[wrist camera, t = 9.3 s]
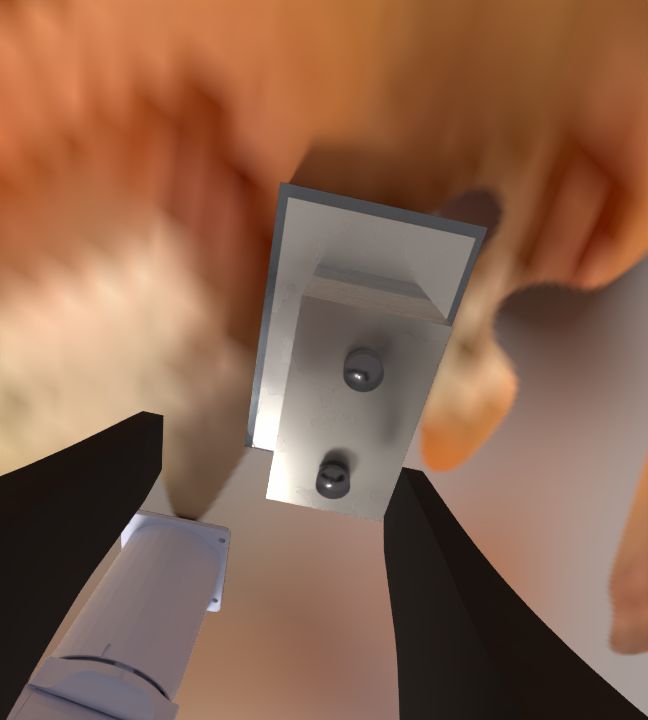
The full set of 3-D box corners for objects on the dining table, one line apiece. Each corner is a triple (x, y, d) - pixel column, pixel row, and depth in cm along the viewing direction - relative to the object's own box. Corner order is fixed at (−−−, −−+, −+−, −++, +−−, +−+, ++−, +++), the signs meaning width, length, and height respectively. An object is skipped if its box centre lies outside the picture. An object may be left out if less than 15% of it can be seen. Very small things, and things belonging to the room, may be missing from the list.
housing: (372, 430, 19) (382, 534, 13) (290, 413, 19) (262, 510, 13) (417, 284, 16) (458, 333, 10) (318, 262, 16) (299, 299, 10)
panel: (392, 455, 23) (397, 483, 21) (253, 426, 23) (242, 451, 20) (473, 225, 17) (491, 228, 15) (288, 184, 17) (278, 181, 15)
